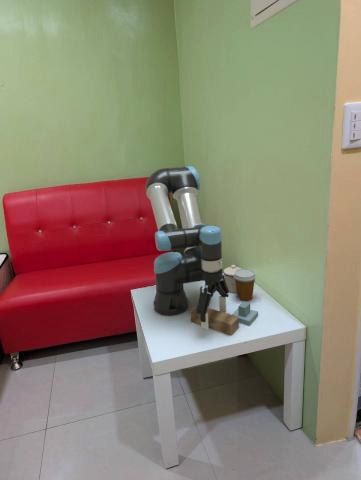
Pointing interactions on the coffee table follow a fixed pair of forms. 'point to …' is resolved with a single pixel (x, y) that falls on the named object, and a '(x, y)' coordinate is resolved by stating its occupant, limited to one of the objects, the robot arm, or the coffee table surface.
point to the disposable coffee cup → (244, 283)
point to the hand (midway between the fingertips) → (214, 319)
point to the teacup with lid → (231, 278)
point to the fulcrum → (245, 313)
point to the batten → (217, 320)
